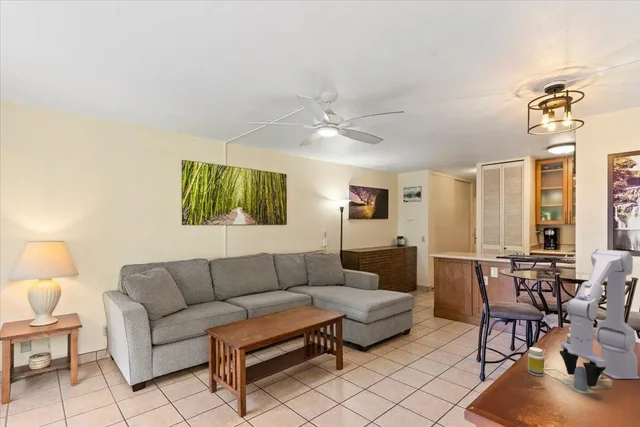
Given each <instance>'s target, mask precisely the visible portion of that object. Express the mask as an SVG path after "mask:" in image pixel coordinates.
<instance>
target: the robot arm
mask: <svg viewBox="0 0 640 427" xmlns="http://www.w3.org/2000/svg"><path fill="white" fill-rule="evenodd" d="M590 258H591V260H590V261H591V264H592V270H591V272H590V275H589V278H588V280H586V281H584V282H582V284H581V285H580V287H579V289H578V291H577V293H576V295H575V296H574V297H573V298H571V299H569V300H568V302H567V305H566V312H567V314H568V321H569V322H570V328H571V339H570V344H568V343H567V342H561V343H560V349H561V350H559V354H560V356H561V358H562V360H563V362H564V365H565V368H566V372H567V373H566V374H567V375H568V376H573V375H574V372H575V368H576V367H577V363H578V359H579V358H582V359H584V360H586V361H588V362H582V364H583V368H585V370H586V376H587V385H588V386H590V387H595V386H596V383H597V381H598V378H599V376H600V375H602V374H604V375H606V376H608V377H609V378H612V379H614V380H615V379H616V380H618V379H620V380H626V379H627V380H628V379H629V380H631V379H632V380H633V379H634V380H636V379H638V380H640V376H638V356H637V354H636V353H635V351H634V350H635V348H636V346H637V338H636V335H635V329H634V328H633V327H631V326H630V325H629V324H627V323H626V322H625V304H626V283H627V282H626V281H627V276H630V275H632V273H633V262H634V258H633V256H632V253H630V251H628V250H611V249H599V248H595V249H594V250H592V252H591V255H590ZM606 280H607V282H606ZM605 282H606V284H607V285H606V302H605V303H606V304H605V305H606V308H605V319H603V320H600V321H598V323H597V324H596V330H595V332H594V321H595V319H596V317H597V316H598V311H599V306H600V305H599V302H600V299H601V297H602V295H603V293H604V288H603V286H602V285H604V283H605ZM594 338H595V341H596V343H597V344H598V345H599V347H601V349H600V350H601V353H600V354H601V356H600V357H599V356H598V355H597V354H596V353H594Z"/></svg>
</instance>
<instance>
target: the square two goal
mask: <svg viewBox="0 0 640 427" xmlns="http://www.w3.org/2000/svg"><path fill="white" fill-rule="evenodd" d="M567 387H569V388H571V389H573V390H574V391H576V392H577V393H578V394H596V392H595V391H594V390H593V389H590V388H589V387H588V388H587V391H581V390H578V389H576V388H574V384H567Z"/></svg>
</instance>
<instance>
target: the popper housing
mask: <svg viewBox="0 0 640 427" xmlns="http://www.w3.org/2000/svg"><path fill="white" fill-rule="evenodd" d="M572 376H573V378H572V379H573V380H574V375H572ZM588 388H589V389H590V390H601V389H602V390H605V389H606V390H608V389H609V390H610V389H613V380H612V379H610V378H608V377H607V376H604V375H602V374H601V379H598V381H597V383H596V386H595V387H590V386H588Z"/></svg>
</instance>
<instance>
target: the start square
mask: <svg viewBox="0 0 640 427" xmlns="http://www.w3.org/2000/svg"><path fill="white" fill-rule="evenodd" d="M546 370H547V371H548V370H549V371H550V370H553V371H555V370H556V371H558V372H559V373H561V374H563V375H560V376H559V375H558V376H557V375H555V376H554V375H552V374H550V373H549V372H547V371H546ZM544 374H547V375H548V376H550V377H551V378H555V377H570V378H571V375H569V374H568V373H565V372H563V371H561V370H560V369H558V368H557V367H555V368H554V367H553V368H552V367H551V368H550V367H549V368H548V367H547V368H545V367H544ZM555 379H556V378H555Z"/></svg>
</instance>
